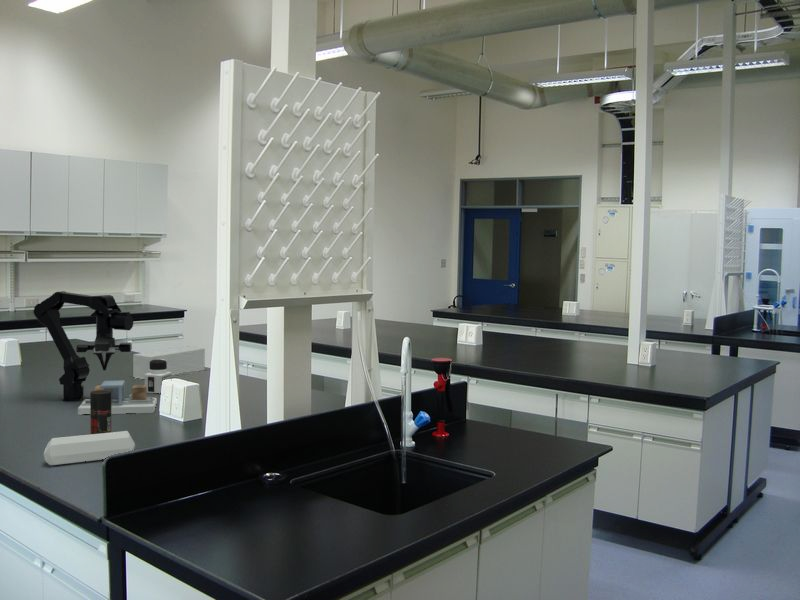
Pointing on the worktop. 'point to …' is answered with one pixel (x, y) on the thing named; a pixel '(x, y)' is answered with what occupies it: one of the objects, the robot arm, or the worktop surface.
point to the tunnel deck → (120, 401)
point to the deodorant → (100, 411)
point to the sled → (126, 398)
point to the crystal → (87, 447)
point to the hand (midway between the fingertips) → (104, 370)
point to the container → (156, 375)
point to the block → (139, 392)
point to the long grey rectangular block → (170, 360)
